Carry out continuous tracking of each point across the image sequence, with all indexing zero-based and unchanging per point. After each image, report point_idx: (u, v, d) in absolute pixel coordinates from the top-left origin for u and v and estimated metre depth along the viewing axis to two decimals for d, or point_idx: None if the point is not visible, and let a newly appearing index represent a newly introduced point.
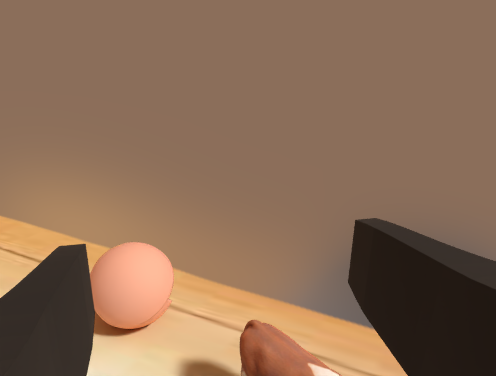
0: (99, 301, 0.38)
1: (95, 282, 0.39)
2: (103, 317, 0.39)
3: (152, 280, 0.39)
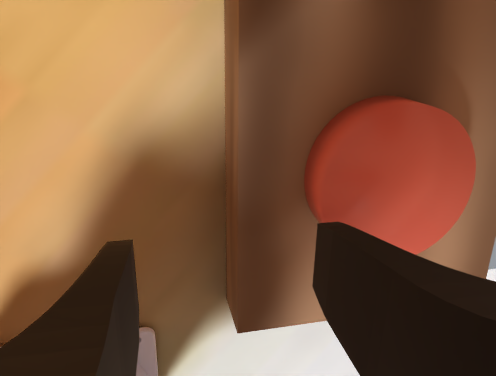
0: None
1: None
2: None
3: None
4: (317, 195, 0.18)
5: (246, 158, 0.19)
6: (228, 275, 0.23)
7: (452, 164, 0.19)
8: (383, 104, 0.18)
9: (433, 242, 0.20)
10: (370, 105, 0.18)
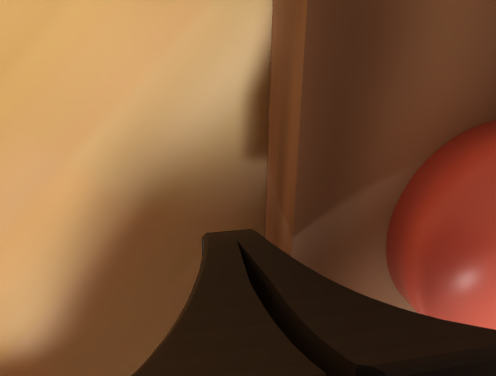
0: None
1: None
2: None
3: None
4: (416, 271, 0.12)
5: (306, 212, 0.12)
6: None
7: None
8: None
9: None
10: None
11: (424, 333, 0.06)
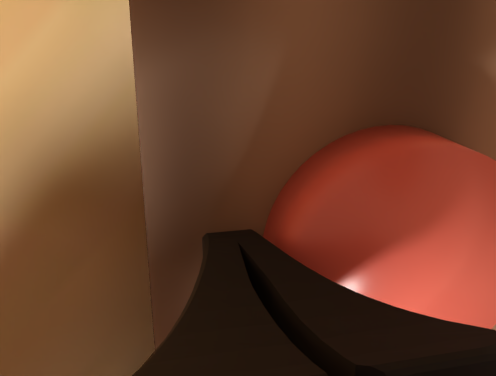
0: None
1: None
2: None
3: None
4: None
5: (159, 225, 0.12)
6: None
7: None
8: (387, 145, 0.11)
9: None
10: (365, 144, 0.11)
11: (423, 333, 0.06)
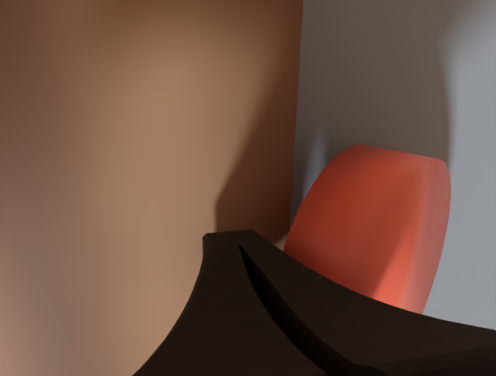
0: None
1: None
2: None
3: None
4: None
5: None
6: None
7: (438, 229, 0.14)
8: (393, 163, 0.11)
9: None
10: (368, 165, 0.11)
11: (424, 333, 0.06)
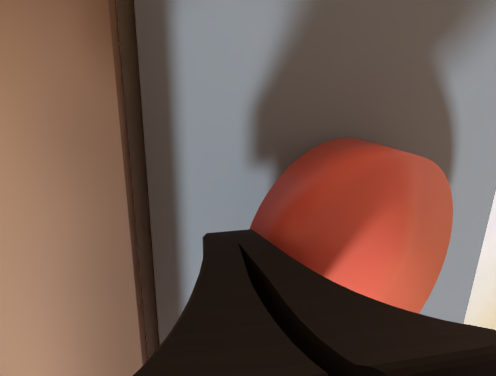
0: None
1: None
2: None
3: None
4: None
5: None
6: None
7: (432, 230, 0.14)
8: (363, 156, 0.12)
9: None
10: (340, 155, 0.12)
11: (423, 333, 0.06)
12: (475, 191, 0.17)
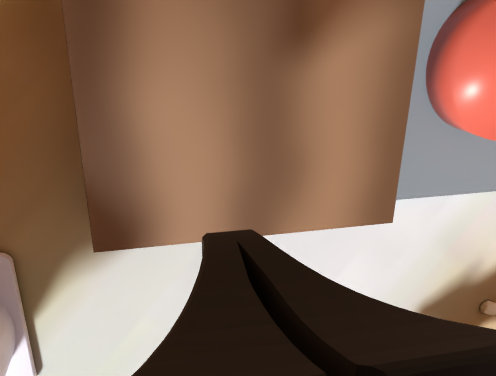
0: None
1: None
2: None
3: None
4: (447, 68, 0.21)
5: (75, 25, 0.15)
6: None
7: None
8: None
9: None
10: None
11: (424, 333, 0.06)
12: None
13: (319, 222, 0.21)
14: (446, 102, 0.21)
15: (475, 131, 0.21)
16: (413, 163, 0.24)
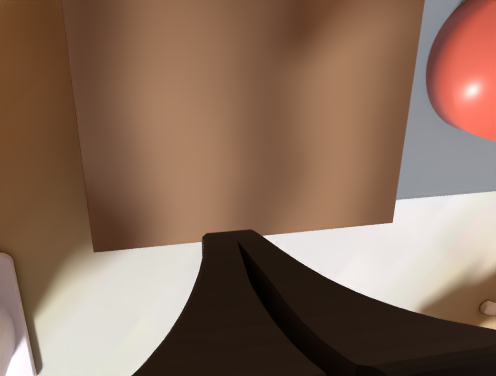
0: None
1: None
2: None
3: None
4: (447, 67, 0.20)
5: (75, 25, 0.15)
6: None
7: None
8: None
9: None
10: None
11: (424, 333, 0.06)
12: None
13: (319, 222, 0.21)
14: (446, 101, 0.21)
15: (474, 131, 0.21)
16: (413, 163, 0.24)
